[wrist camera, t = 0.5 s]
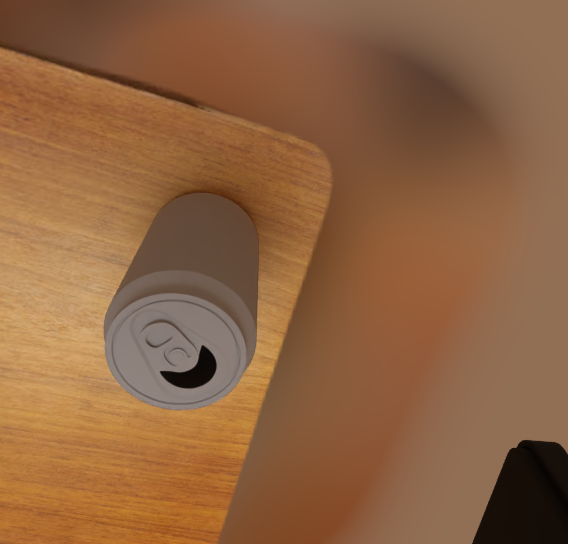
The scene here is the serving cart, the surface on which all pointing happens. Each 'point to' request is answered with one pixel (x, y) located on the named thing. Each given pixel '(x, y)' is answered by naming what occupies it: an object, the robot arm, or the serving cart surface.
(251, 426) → the serving cart surface
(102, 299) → the serving cart surface
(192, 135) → the serving cart surface
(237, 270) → the beverage can
